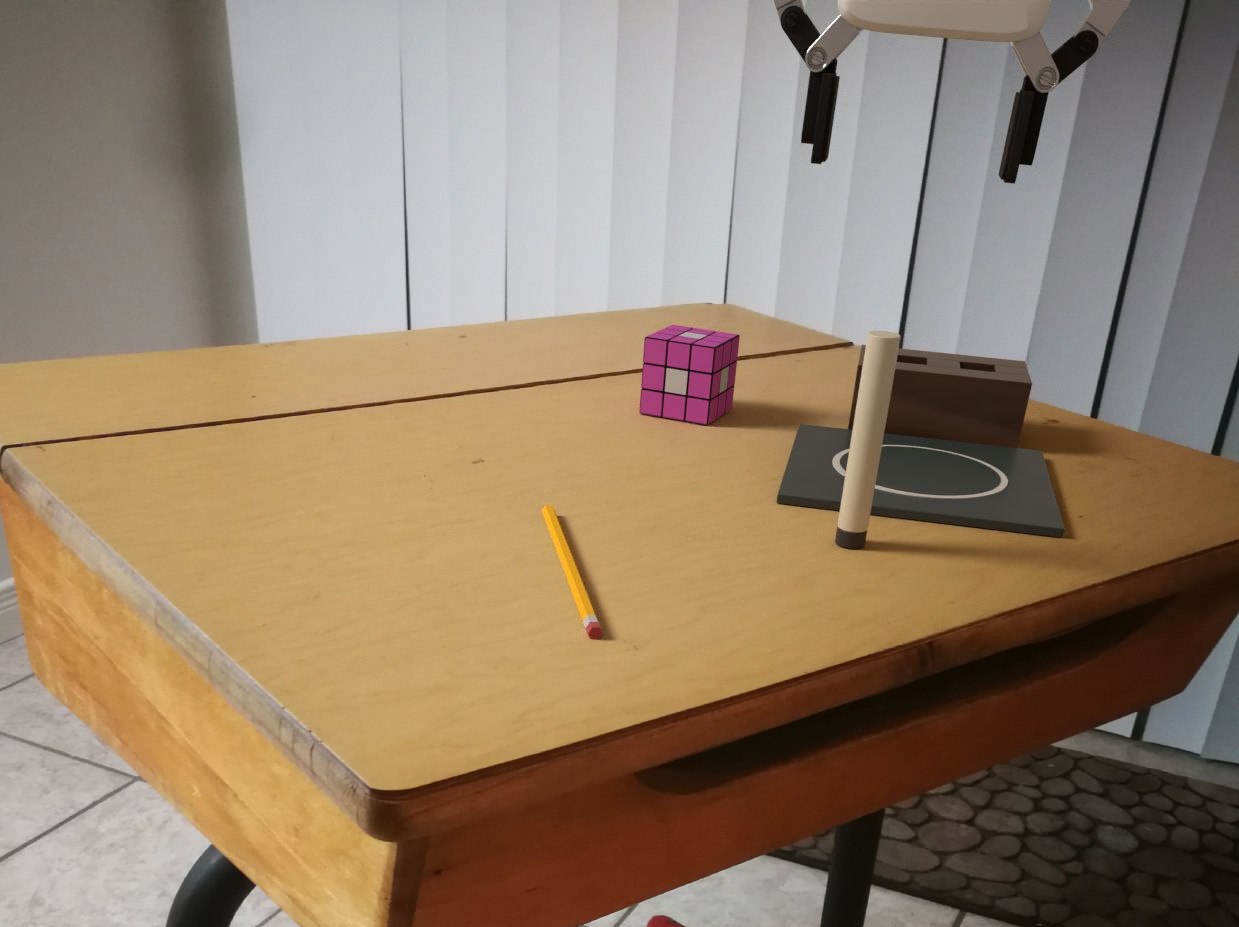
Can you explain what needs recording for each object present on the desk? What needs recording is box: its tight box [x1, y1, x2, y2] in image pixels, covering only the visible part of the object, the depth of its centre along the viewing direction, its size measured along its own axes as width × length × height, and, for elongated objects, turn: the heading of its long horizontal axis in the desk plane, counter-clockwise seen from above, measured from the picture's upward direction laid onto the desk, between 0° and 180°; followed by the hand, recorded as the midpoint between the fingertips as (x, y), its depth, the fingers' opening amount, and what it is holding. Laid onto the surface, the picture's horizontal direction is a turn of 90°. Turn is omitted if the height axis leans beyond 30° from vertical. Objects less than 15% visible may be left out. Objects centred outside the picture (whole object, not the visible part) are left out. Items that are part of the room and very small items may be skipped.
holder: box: [847, 344, 1033, 448], centre depth 99 cm, size 8×13×5 cm, turn 78°
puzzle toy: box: [639, 324, 741, 426], centre depth 99 cm, size 6×6×6 cm
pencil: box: [541, 504, 604, 640], centre depth 71 cm, size 1×18×1 cm, turn 10°
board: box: [776, 423, 1065, 538], centre depth 89 cm, size 18×18×1 cm
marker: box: [834, 330, 901, 550], centre depth 74 cm, size 2×2×12 cm
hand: (911, 170), depth 66 cm, fingers open, 9 cm apart
